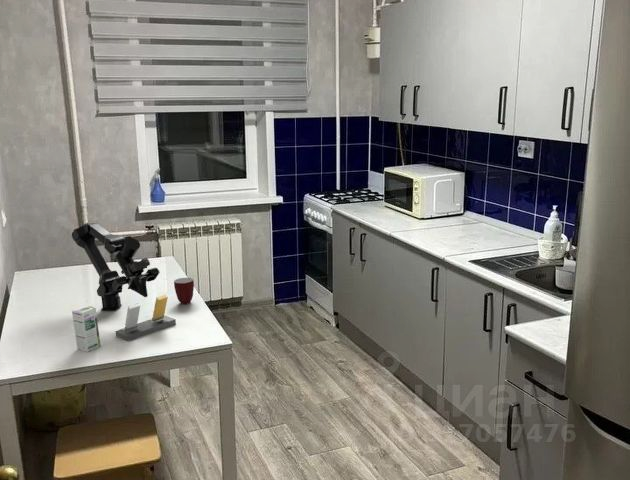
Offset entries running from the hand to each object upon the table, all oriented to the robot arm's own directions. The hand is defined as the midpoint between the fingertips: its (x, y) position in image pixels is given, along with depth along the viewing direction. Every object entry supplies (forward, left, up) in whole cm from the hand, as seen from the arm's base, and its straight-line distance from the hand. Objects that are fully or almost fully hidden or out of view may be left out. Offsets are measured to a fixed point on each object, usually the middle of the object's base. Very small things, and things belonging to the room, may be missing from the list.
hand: (146, 296), depth 234 cm
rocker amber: (+5, -4, -7) cm, 10 cm away
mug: (+8, +21, -11) cm, 25 cm away
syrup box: (-13, -25, -11) cm, 30 cm away
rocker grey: (-2, -13, -7) cm, 15 cm away
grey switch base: (+2, -8, -10) cm, 13 cm away
